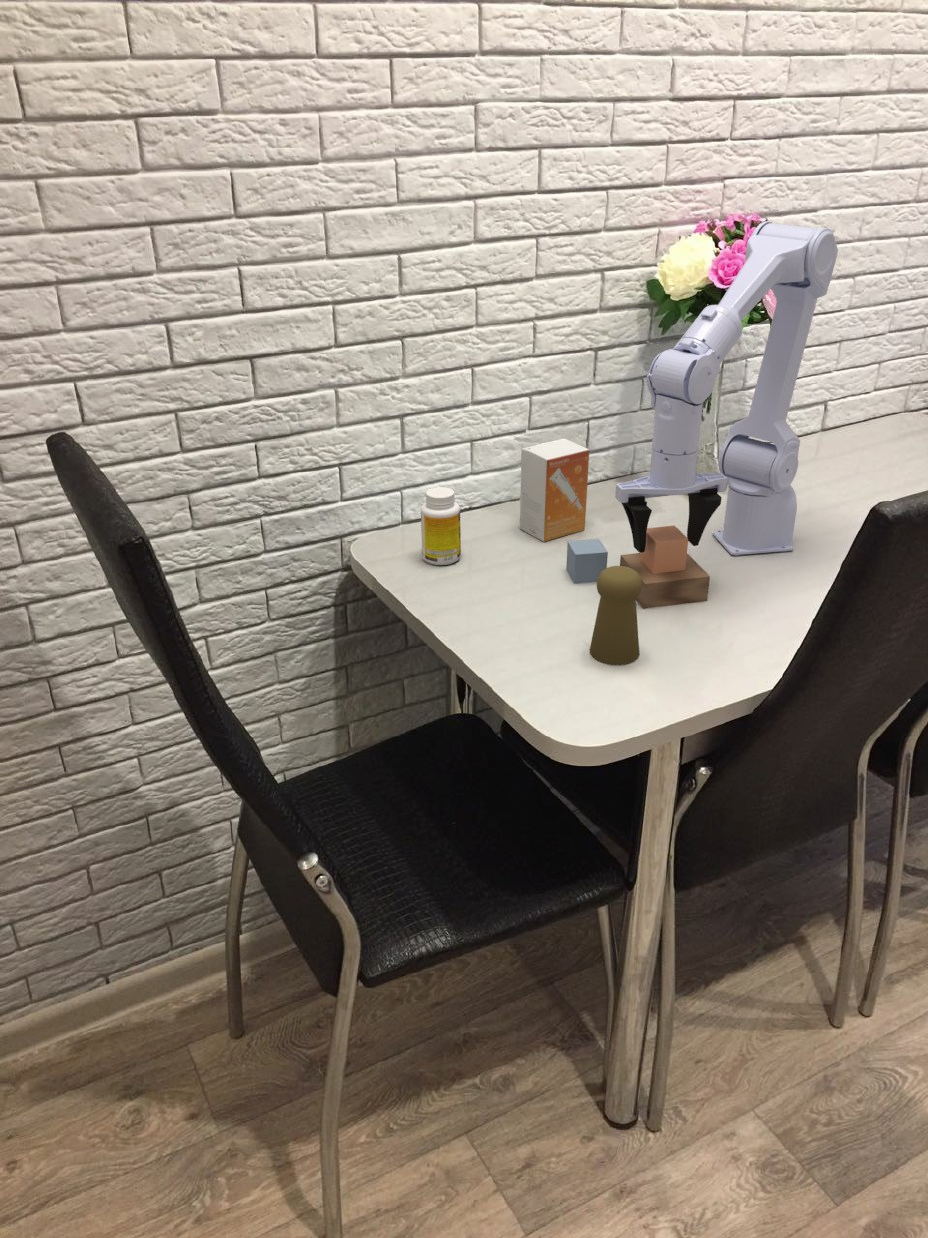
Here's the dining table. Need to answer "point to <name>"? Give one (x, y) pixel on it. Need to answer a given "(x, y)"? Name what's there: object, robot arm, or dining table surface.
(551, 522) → the small box
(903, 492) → the dining table surface
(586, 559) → the slate-blue cube
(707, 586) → the walnut block
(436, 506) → the supplement bottle
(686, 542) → the terracotta cube
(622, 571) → the olive game pawn
